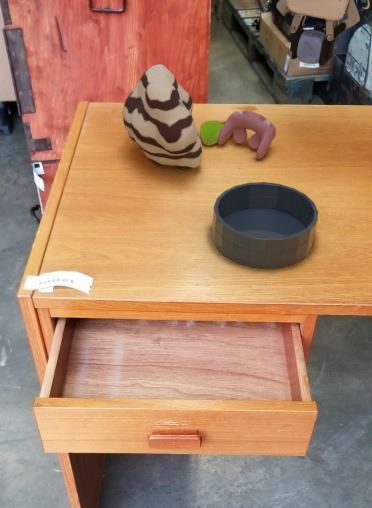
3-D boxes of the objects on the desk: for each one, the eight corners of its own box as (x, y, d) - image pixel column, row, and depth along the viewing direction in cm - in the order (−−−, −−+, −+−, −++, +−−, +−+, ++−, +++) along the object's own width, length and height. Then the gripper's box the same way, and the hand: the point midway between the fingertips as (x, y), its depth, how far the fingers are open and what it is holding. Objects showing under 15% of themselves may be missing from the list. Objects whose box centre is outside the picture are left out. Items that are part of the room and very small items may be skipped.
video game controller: (269, 161, 109) (283, 122, 106) (260, 160, 105) (274, 119, 102) (224, 145, 113) (236, 106, 110) (213, 142, 109) (225, 102, 106)
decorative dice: (317, 65, 101) (322, 40, 98) (295, 61, 102) (298, 36, 99) (324, 57, 103) (328, 32, 100) (302, 53, 104) (305, 28, 101)
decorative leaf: (245, 138, 113) (246, 133, 112) (207, 147, 109) (208, 142, 108) (223, 119, 116) (223, 115, 116) (185, 128, 113) (185, 123, 112)
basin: (327, 228, 93) (333, 200, 89) (287, 281, 84) (292, 252, 80) (240, 200, 98) (243, 172, 94) (194, 247, 89) (195, 218, 85)
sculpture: (210, 185, 101) (215, 95, 89) (138, 194, 99) (133, 102, 87) (180, 125, 115) (181, 41, 104) (117, 132, 113) (110, 46, 102)
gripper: (392, -68, 88) (363, 63, 102) (288, -83, 94) (274, 43, 107) (376, -57, 84) (348, 78, 98) (268, -73, 89) (256, 57, 103)
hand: (309, 58), depth 102 cm, fingers closed on decorative dice, 4 cm apart
